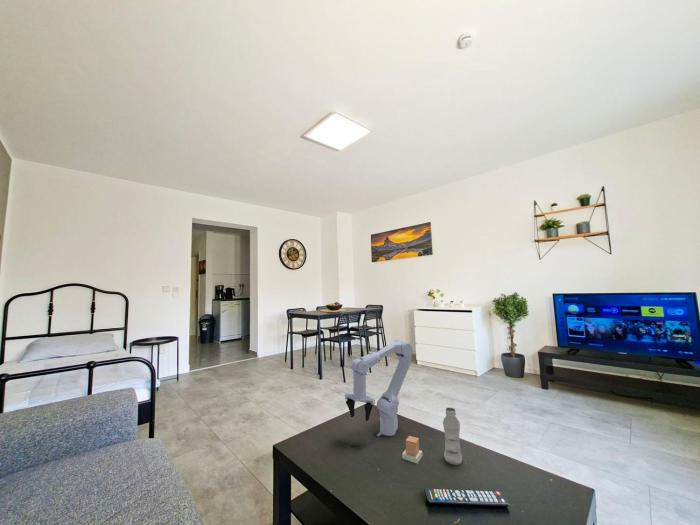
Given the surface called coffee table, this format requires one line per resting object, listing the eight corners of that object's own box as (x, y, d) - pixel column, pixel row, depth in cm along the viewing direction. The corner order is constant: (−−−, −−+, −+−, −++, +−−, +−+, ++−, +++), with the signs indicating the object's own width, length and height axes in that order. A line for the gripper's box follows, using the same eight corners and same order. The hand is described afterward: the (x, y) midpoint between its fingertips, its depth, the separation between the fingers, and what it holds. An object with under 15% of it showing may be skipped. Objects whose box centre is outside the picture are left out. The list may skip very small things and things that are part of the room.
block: (409, 448, 113) (409, 435, 113) (419, 451, 111) (418, 438, 111) (406, 453, 109) (405, 440, 110) (416, 456, 107) (415, 442, 108)
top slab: (408, 451, 114) (408, 446, 114) (422, 456, 111) (422, 451, 111) (402, 458, 109) (402, 453, 110) (417, 463, 106) (416, 458, 106)
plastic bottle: (441, 464, 107) (438, 409, 110) (449, 456, 112) (446, 404, 115) (458, 471, 103) (455, 414, 105) (465, 463, 108) (461, 408, 110)
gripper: (341, 386, 127) (341, 418, 126) (370, 391, 120) (370, 425, 118) (349, 382, 133) (349, 412, 132) (376, 387, 126) (377, 419, 124)
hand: (359, 418), depth 125 cm, fingers open, 7 cm apart
